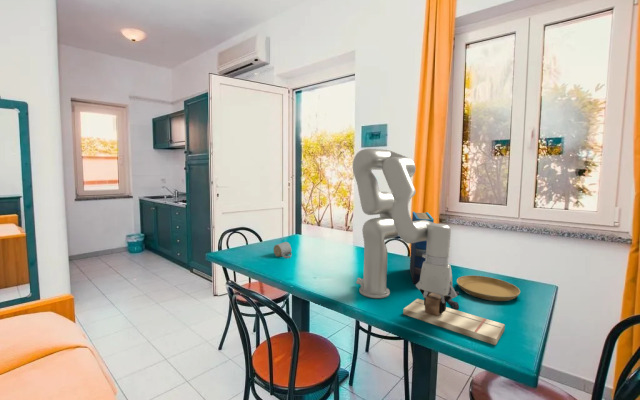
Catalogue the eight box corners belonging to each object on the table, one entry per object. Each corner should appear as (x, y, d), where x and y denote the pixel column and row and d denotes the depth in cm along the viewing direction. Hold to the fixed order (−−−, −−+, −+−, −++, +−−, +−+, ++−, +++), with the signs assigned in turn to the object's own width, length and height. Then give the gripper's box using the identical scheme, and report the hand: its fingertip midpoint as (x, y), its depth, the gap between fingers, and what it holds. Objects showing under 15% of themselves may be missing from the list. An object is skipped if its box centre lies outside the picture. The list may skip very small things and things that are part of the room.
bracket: (438, 310, 120) (438, 303, 120) (423, 294, 135) (424, 288, 135) (475, 311, 121) (476, 303, 121) (457, 295, 136) (457, 288, 135)
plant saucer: (510, 285, 146) (511, 278, 146) (527, 308, 123) (528, 299, 123) (453, 279, 153) (453, 272, 153) (459, 299, 130) (460, 291, 130)
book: (434, 288, 141) (438, 220, 138) (413, 286, 143) (417, 219, 140) (427, 270, 165) (430, 212, 162) (409, 269, 166) (412, 211, 163)
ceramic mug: (272, 255, 187) (272, 242, 186) (283, 253, 193) (283, 240, 192) (284, 259, 180) (284, 246, 179) (295, 257, 186) (295, 244, 185)
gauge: (424, 312, 112) (425, 297, 112) (435, 303, 120) (436, 289, 119) (437, 316, 110) (438, 300, 109) (447, 307, 117) (448, 292, 116)
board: (403, 314, 116) (403, 308, 116) (417, 303, 125) (417, 298, 125) (495, 345, 96) (496, 338, 96) (504, 330, 105) (504, 324, 105)
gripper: (409, 257, 114) (407, 306, 116) (459, 267, 103) (455, 321, 105) (418, 252, 120) (416, 300, 122) (466, 262, 109) (462, 313, 111)
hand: (434, 309), depth 113 cm, fingers closed on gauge, 4 cm apart
